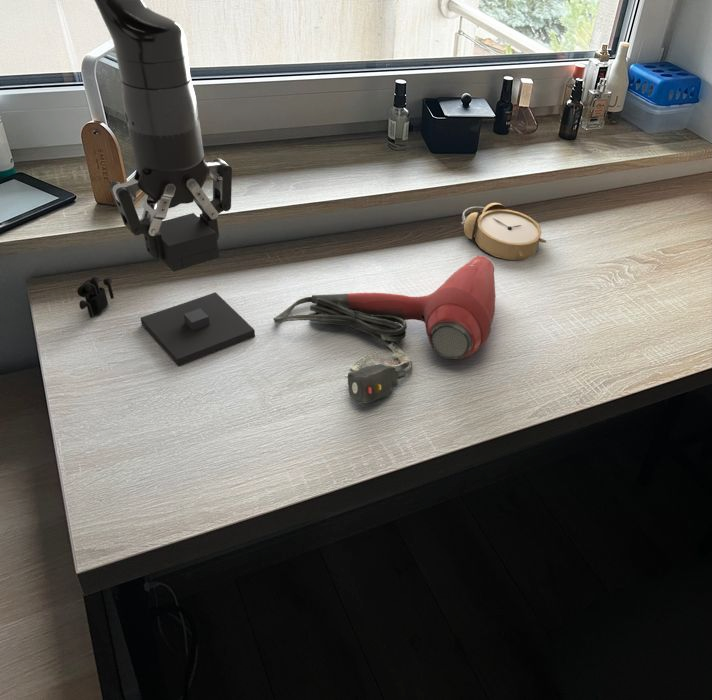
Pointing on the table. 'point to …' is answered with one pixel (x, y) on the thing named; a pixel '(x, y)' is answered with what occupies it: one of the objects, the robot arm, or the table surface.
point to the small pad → (187, 242)
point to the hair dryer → (438, 311)
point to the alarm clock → (503, 231)
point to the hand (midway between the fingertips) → (185, 249)
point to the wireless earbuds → (94, 295)
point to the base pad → (197, 328)
